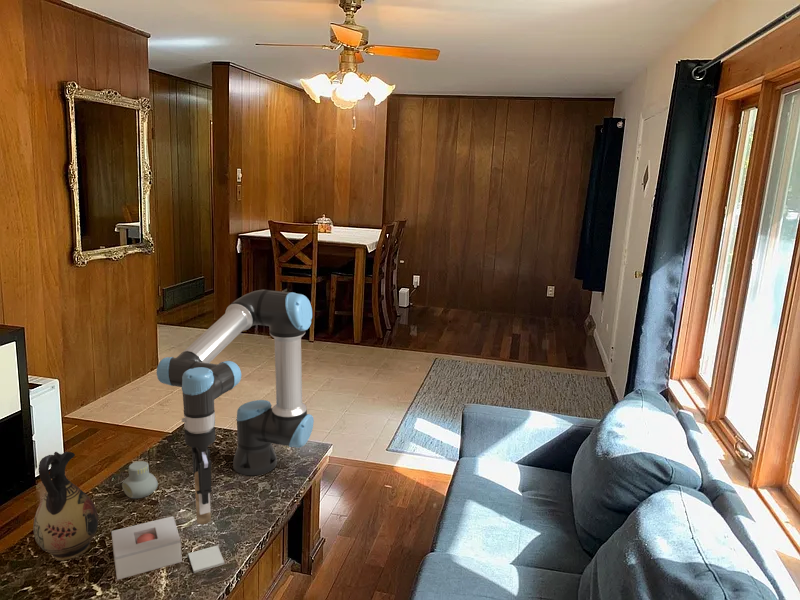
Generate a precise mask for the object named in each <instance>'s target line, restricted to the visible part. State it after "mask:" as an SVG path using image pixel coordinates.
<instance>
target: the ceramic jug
mask: <svg viewBox="0 0 800 600" xmlns="http://www.w3.org/2000/svg"><path fill="white" fill-rule="evenodd" d="M75 456H76V454H75V453H74V452H71V451H64V452H63V453H59V452H58V451H54V453H53V454H48V455H45V456H44V457H42V458H41V459H40V461H39V462H38V463H39V464H38V476H39V479H40V481H41V483H42V485H43V486H44V488H45V491H46V493H45V494H44V495H43V497H42V499H41V501H40V503H39V505H38V507H37V509H36V512H35V514H34V515H35V516H34V519H33V535H34V540H35V542H36V544H37V545H38V547H40V548H41V550H42V551H45V552H46V553H48V554H50V555H51V556H52V557H53V558H54V559H55V560H57V561H59V562H62V561H65V560H70V559H74V558H76V557H78V556H82V555H83V554H85V553H86V551H88V549H89V548H90V547H91V545H92V544H91V541H92V540H93V539H94V537H95V535H96V532H97V531H98V527H99V516H98V511H97V508H96V506H95V504H94V501H93V500H91V498H90V496H88V495H87V493H86V492H84V491H83V490H82V489H81V488H80V487H79V486H78V485H76V484H75V483H73V482H72V481H70V479H68V477H67V476H66V467H67V465H68V463H69V462H70V460H72V459H73V458H74V457H75Z"/></svg>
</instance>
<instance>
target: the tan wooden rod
mask: <svg viewBox="0 0 800 600" xmlns="http://www.w3.org/2000/svg"><path fill="white" fill-rule="evenodd" d="M194 476H195V477H194ZM194 476H193V477H194V489H195V491H194V492H195V493H194V494H195V511H196V512H195V513H196V523H197V524H198V525H207V524H209V523H210V522H211V520H212V515H211V513H212V512H209V513H205V514H201V515H200V513H199V494H197V491H199V477H198V471H197V472H195V474H194Z"/></svg>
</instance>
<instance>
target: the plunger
mask: <svg viewBox="0 0 800 600" xmlns="http://www.w3.org/2000/svg"><path fill="white" fill-rule="evenodd" d="M154 539H155V536H154V535H153V534H150V533H147V534H143V535H141V536H139V537H138V539H137V544H138V543H142V542H146V541H150V540H154Z"/></svg>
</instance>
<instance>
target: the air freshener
mask: <svg viewBox="0 0 800 600" xmlns="http://www.w3.org/2000/svg"><path fill="white" fill-rule="evenodd" d="M149 465H150V464H149V463H148V462H146V461H143V460H141V461H135V462H132V463H131V464H129V466H128V476H127V477H126V478H125V479H124V480H123V482H122V484H121V487H122V490H123V492H124V494H125V495H126V496H127V497H128V498H129V499H130V498H131V499H141V498H146V497H148V496H150V495H151V494H153V493H154V492H155V491H156V490H157V488H158V486H159V485H158V484H159V483H158V479H157V478H156V477H155V475H154V474H153V473H151V472H150V467H149Z"/></svg>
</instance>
